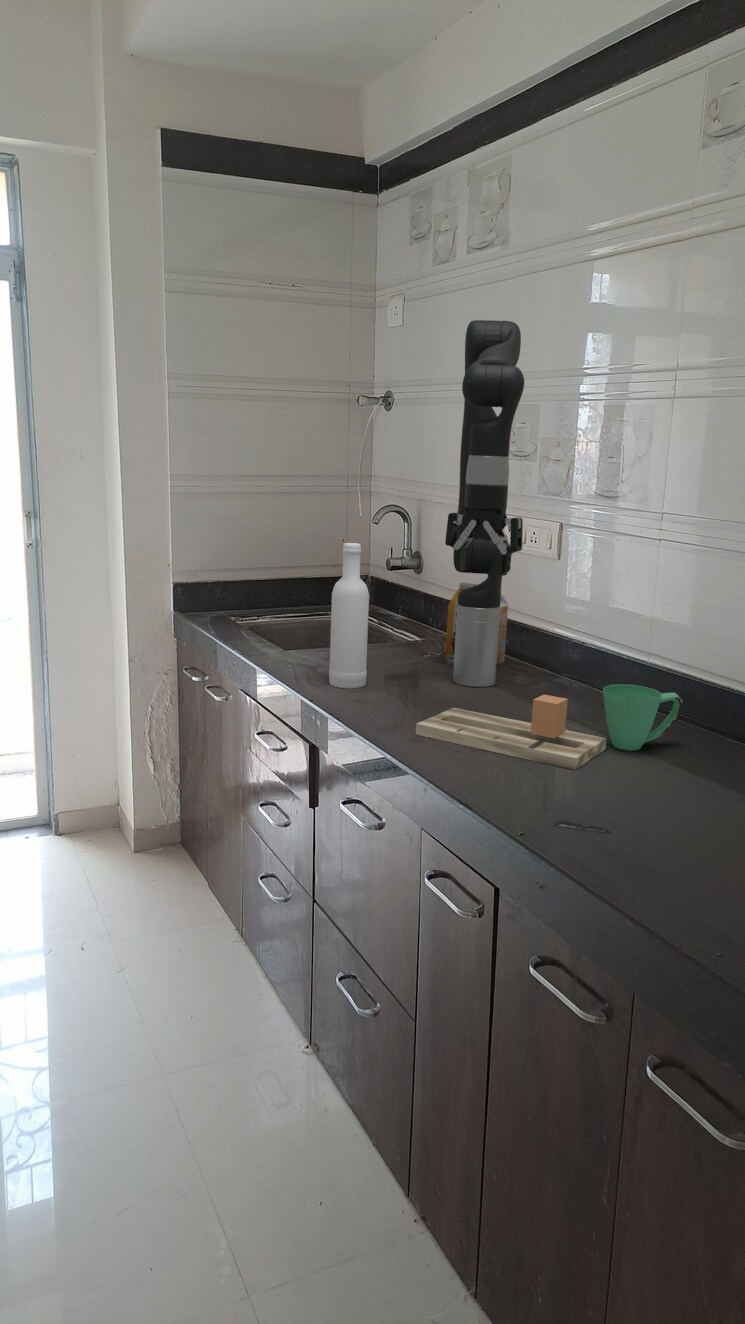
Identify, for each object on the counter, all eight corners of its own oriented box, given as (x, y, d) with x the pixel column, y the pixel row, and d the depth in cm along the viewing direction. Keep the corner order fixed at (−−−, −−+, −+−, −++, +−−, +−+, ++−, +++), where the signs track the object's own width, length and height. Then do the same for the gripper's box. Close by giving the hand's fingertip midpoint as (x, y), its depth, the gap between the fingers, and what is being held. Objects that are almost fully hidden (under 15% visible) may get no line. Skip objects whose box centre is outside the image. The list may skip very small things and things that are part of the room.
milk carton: (504, 662, 230) (509, 584, 226) (485, 670, 222) (490, 589, 217) (465, 656, 236) (469, 580, 232) (445, 663, 227) (449, 584, 223)
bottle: (344, 690, 198) (349, 546, 191) (321, 682, 204) (325, 542, 197) (373, 685, 203) (379, 544, 196) (350, 678, 209) (354, 541, 202)
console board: (453, 717, 181) (453, 707, 180) (605, 749, 165) (606, 737, 165) (415, 734, 169) (416, 723, 169) (575, 770, 154) (576, 757, 153)
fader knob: (539, 742, 166) (543, 694, 164) (563, 747, 164) (567, 698, 162) (529, 748, 163) (533, 699, 161) (553, 753, 160) (557, 704, 159)
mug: (615, 756, 161) (620, 699, 159) (588, 739, 171) (593, 685, 168) (691, 752, 165) (697, 697, 163) (661, 735, 174) (666, 683, 172)
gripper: (532, 484, 168) (526, 575, 172) (461, 480, 176) (456, 567, 179) (514, 484, 162) (508, 579, 166) (441, 480, 170) (437, 570, 173)
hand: (481, 572), depth 173 cm, fingers open, 8 cm apart
